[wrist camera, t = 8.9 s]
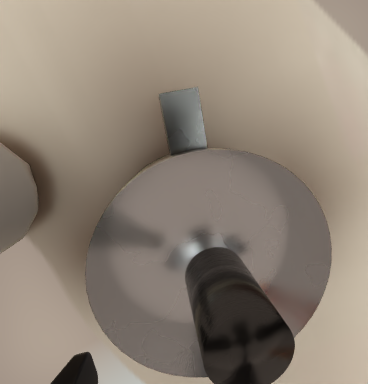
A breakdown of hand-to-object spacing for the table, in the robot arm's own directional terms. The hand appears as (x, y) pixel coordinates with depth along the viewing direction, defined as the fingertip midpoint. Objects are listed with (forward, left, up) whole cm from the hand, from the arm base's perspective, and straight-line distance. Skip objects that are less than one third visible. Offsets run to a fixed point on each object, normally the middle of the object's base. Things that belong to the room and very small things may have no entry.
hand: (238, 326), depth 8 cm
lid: (0, 0, -4) cm, 4 cm away
